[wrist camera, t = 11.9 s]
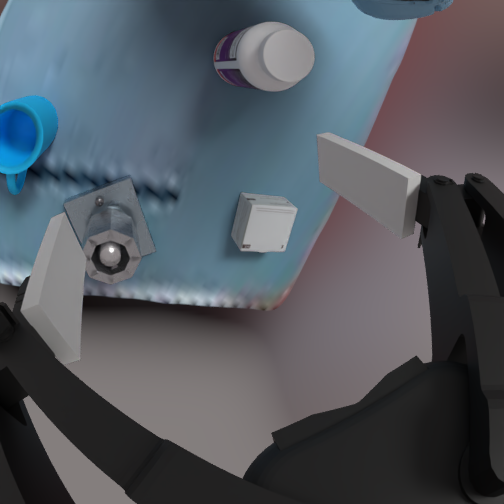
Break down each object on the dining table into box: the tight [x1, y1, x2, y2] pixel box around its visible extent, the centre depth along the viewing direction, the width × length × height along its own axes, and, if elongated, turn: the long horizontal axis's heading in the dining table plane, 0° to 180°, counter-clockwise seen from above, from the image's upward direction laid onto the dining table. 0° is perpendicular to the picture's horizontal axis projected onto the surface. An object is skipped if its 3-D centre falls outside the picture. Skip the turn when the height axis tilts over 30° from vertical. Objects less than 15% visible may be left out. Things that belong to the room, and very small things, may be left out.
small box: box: [231, 192, 298, 253], centre depth 50 cm, size 8×8×5 cm
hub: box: [81, 209, 142, 285], centre depth 38 cm, size 7×7×6 cm
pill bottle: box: [213, 22, 315, 92], centre depth 32 cm, size 8×8×14 cm
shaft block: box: [64, 175, 156, 269], centre depth 39 cm, size 12×10×9 cm
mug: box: [0, 95, 58, 195], centre depth 29 cm, size 12×8×8 cm
